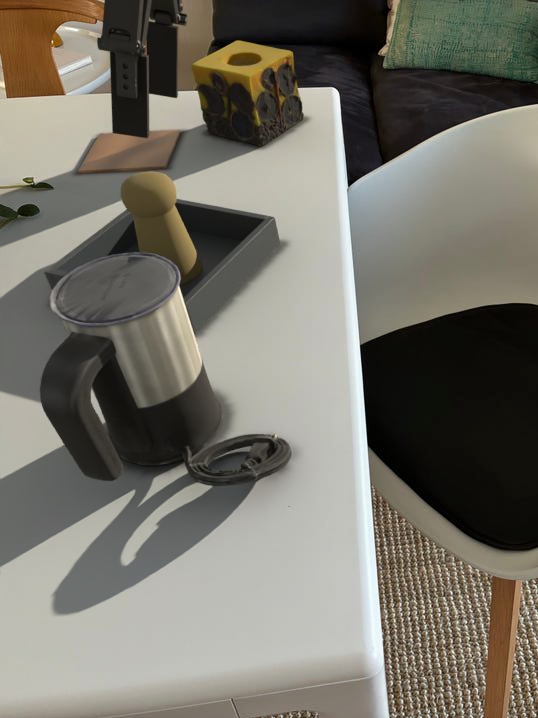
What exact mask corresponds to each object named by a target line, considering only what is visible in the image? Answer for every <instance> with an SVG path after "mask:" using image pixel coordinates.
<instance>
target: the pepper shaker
mask: <svg viewBox="0 0 538 718" xmlns="http://www.w3.org/2000/svg"><path fill="white" fill-rule="evenodd" d="M177 192H178V191H177V188H176V185H175V184H174V182H173V180H172V179H171V178H170V177H169V176H168V175H167V174H165V173H163V172H159V171H151V170H147V171H141V172H138V173H135V174H132V175H130V176H129V177H128V178H126V179H124V181H123V182H122V184H121V187H120V191H119V193H120V194H119V195H120V200H121V202H122V204H123V205H124V207H125V208H126V209H127V210H128V211H129V212H131V213H132V214H133V219H134V224H135V230H136V235H137V240H138V246H139V251H140V253H152V254H156V255H158V256H161V257H164V258H166V259H168V260H170V261H171V262H173V263H174V264H175V265H176V266H177V268H178V270H179V272H180V277H181V279H180V284H179V285H181V284H184V283H187V282H189V281H190V280H192V279H194V278H195V277H196V276H197V275H199V274H200V272H201V270H202V262H201V260H200V258H199V256H198V254H197V252H196V250H195V247H194V245H193V243H192V241H191V239H190V237H189V234H188V232H187V230H186V228H185V226H184V224H183V222H182V219H181V217H180V215H179V213H178V211H177V209H176V206H175V203H176V199H178V198H177V196H178V195H177Z"/></svg>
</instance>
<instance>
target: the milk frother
mask: <svg viewBox="0 0 538 718" xmlns="http://www.w3.org/2000/svg"><path fill="white" fill-rule="evenodd" d="M180 279H181V277H180V272H179V270H178V268H177V266H176V265H175V264H174V263H173V262H171V261H170V260H168V259H166V258H164V257H161V256H158V255H156V254H152V253H137V252H134V253H123V254H116V255H110V256H106V257H103V258H99V259H95V260H93V261H91V262H88V263H86V264H84V265H82V266H79V267H77V268H76V269H74V270H73V271H71V272H70V273H69V274H67V275H66V276H64V277H63V278H62V279H61V280H60V281H59V282H58V283H57V284H56V285H55V287H54V288H53V290H52V289H51V290H50V294H49V299H48V301H49V307H50V310H51V311H52V313H53V314H54V315H55V316H56V317H58V318H59V319H60V320H61V321H62V324H63V326H64V328H65V330H66V334H67V335H68V336H67V337H66V338H65V339H64V340H63V342H61V343H60V344H59V346H58V347H57V348H55V350H54V351H53V352H52V354H51V355H50V357H49V358H48V359H47V362H46V363H45V365H44V368H43V371H42V374H41V376H40V377H41V378H40V383H39V398H40V402H41V407H42V410H43V412H44V414H45V415H46V418H47V419H48V421H49V422H50V425H52V427H53V429H54V430H55V432H56V433H57V435H58V437H59V438H60V440H61V442H62V444H63V446H64V447H65V448H66V450H67V451H68V453H69V454H70V456H71V457H72V459H73V460H74V462H75V463H76V465H77V467H78V469H79V470H80V471H81V473H82V474H83V475H84V476H85V477H87V478H90V479H93V480H97V481H104V482H112V481H115V480H118V479H119V477H121V475H122V473H123V471H124V466H123V462H122V460H121V458H122V459H124V460H125V461H126V462H130V463H134V464H137V465H141V466H163V465H169V464H173V463H174V462H179V461H182V460H183V461H184V466H185V468H186V471H187V473H188V475H189V476H190V479H192V480H193V481H194V482H195V483H199V484H201V485H205V486H209V487H230V486H239V485H244V484H248V483H252V482H255V481H259V480H261V479H264V478H266V477H269V476H271V475H273V474H275V473H277V472H279V471H280V470H281V469H283V468H284V467H286V466H287V464H288V463H289V462H290V460H291V458H292V448H291V445H290V443H289V442H288V441H286V440H285V439H284V438H282V437H279V436H277V435H278V434H277V433H275V432H272V433H271V434H264V433H249V434H242V435H238V436H234V437H230V438H227V439H223V440H222V441H220V442H217V443H215V444H213V445H211V446H208V447H207V448H206V449H204V447H205V446H207V445H209V443H210V442H211V441H212V440H213V439H214V438H215V437H216V435H217V434H218V433H219V431H220V428H221V426H222V423H223V420H224V412H223V407H222V404H221V403H220V401H219V400H218V399H217V398H216V396H215V393H214V389H213V388H212V385H211V382H210V379H209V377H208V374H207V371H206V367H205V365H204V361H203V358H202V354H201V352H200V349H199V345H198V341H197V339H196V334H194V332H193V329H192V325H191V322H190V319H189V316H188V312H187V309H186V306H185V303H184V300H183V296H182V293H181V290H180V287H179V284H180ZM92 393H93V395H94V397H95V399H96V401H97V403H98V406H99V409H100V411H101V414H102V416H103V419H104V422H105V424H106V427H107V431H108V433H109V435H108V433H107V431H106V427H105V426H104V424H103V422H102V420H101V417H100V416H99V415H98V412H97V411H96V409H95V407H94V404H93V403H92ZM248 447H250V449H249V452H248V453H247V454H246V455H245V458H244V460H245V461H244V462H243V463H241V464H240V468H238V469H230V470H215V469H213V468H210V467H209V465H210V464H211V462H213V461H214V460H215V459H217V458H219V457H220V456H223V455H225V454H227V453H229V452H232V451H235V450H238V449H239V450H240V449H243V448H248ZM202 449H204V450H202ZM201 450H202V451H201ZM199 451H201V452H200V453H199V454H197V455H196V456H195V457H194V459H193V458H192V457H193V455H194V454H196V453H198V452H199Z"/></svg>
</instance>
